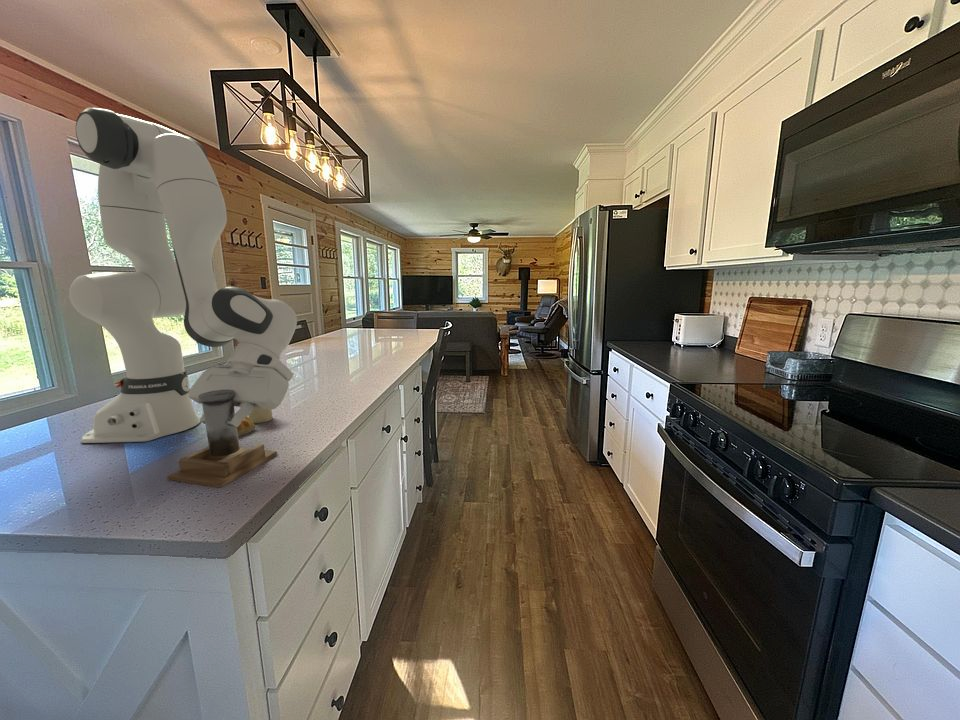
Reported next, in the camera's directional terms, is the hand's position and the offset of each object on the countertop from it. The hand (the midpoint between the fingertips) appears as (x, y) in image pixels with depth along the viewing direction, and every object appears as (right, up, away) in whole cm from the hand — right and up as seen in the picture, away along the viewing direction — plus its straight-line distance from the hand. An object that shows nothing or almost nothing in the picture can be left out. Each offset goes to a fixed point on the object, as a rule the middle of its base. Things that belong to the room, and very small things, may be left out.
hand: (218, 424), depth 74 cm
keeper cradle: (0, -9, +2) cm, 9 cm away
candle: (-8, -4, +29) cm, 30 cm away
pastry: (-9, -6, +19) cm, 22 cm away
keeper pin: (0, -6, +2) cm, 6 cm away
